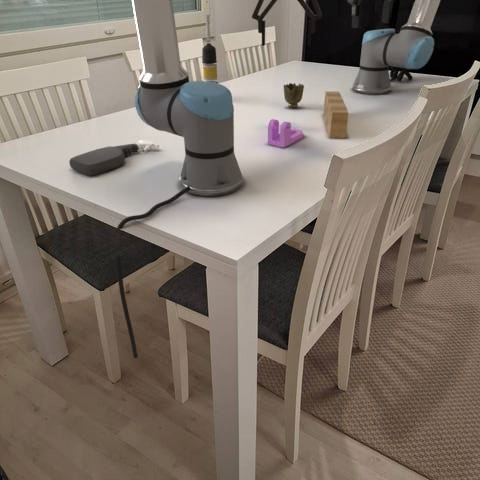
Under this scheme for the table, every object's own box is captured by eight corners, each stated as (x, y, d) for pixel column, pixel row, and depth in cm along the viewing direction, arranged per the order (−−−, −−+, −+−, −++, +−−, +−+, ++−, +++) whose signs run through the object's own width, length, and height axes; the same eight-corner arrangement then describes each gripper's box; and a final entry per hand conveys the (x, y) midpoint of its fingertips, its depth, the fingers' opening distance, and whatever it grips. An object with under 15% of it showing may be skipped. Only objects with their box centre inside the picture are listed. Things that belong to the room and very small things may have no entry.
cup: (279, 108, 165) (280, 86, 160) (287, 103, 170) (288, 82, 166) (298, 111, 162) (299, 88, 157) (305, 105, 167) (307, 83, 163)
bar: (345, 138, 137) (348, 112, 132) (329, 138, 137) (332, 112, 133) (337, 114, 158) (339, 91, 154) (323, 114, 158) (325, 91, 154)
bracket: (283, 147, 130) (284, 124, 126) (267, 143, 133) (268, 120, 129) (305, 135, 139) (307, 113, 135) (290, 132, 142) (291, 110, 138)
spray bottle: (67, 168, 120) (139, 144, 136) (91, 178, 114) (163, 151, 130) (65, 157, 118) (137, 134, 134) (89, 167, 112) (162, 142, 128)
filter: (220, 99, 177) (217, 15, 161) (206, 100, 176) (202, 16, 160) (215, 96, 182) (212, 14, 166) (202, 97, 180) (197, 14, 164)
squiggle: (400, 92, 202) (376, 71, 205) (417, 76, 202) (392, 56, 205) (405, 81, 191) (380, 59, 194) (423, 64, 191) (397, 42, 194)
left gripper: (334, -40, 124) (327, 43, 135) (245, -38, 127) (246, 42, 138) (335, -40, 117) (328, 47, 129) (241, -38, 121) (243, 47, 132)
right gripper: (397, -54, 142) (388, 19, 153) (339, -51, 131) (334, 28, 143) (417, -55, 136) (405, 21, 148) (358, -51, 126) (350, 31, 137)
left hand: (285, 45), depth 134 cm, fingers open, 13 cm apart
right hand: (370, 25), depth 145 cm, fingers open, 13 cm apart
